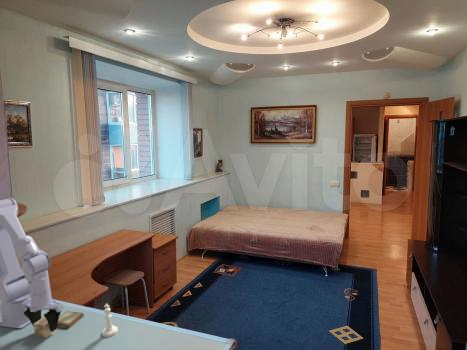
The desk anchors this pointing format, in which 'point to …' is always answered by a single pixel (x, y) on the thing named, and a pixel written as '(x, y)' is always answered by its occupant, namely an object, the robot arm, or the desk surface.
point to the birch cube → (42, 328)
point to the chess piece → (109, 324)
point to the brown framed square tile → (69, 319)
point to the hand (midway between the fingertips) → (46, 328)
